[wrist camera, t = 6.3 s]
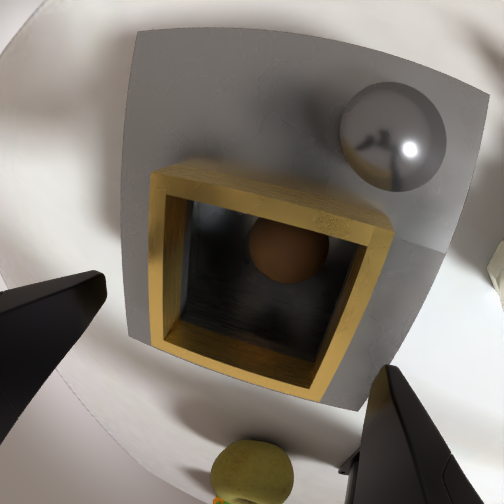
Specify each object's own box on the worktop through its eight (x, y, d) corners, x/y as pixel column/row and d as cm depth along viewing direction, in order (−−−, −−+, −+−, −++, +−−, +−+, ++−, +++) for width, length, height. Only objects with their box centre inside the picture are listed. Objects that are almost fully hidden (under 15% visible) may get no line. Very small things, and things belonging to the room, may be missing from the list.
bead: (310, 264, 17) (324, 304, 14) (244, 254, 17) (242, 294, 14) (327, 200, 16) (348, 228, 12) (255, 188, 15) (257, 213, 12)
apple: (302, 466, 27) (287, 520, 21) (233, 456, 30) (212, 505, 23) (300, 431, 24) (282, 497, 18) (218, 420, 27) (191, 478, 20)
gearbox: (360, 329, 18) (356, 436, 11) (184, 277, 20) (112, 353, 13) (433, 103, 12) (511, 92, 5) (209, 56, 14) (111, 24, 7)
